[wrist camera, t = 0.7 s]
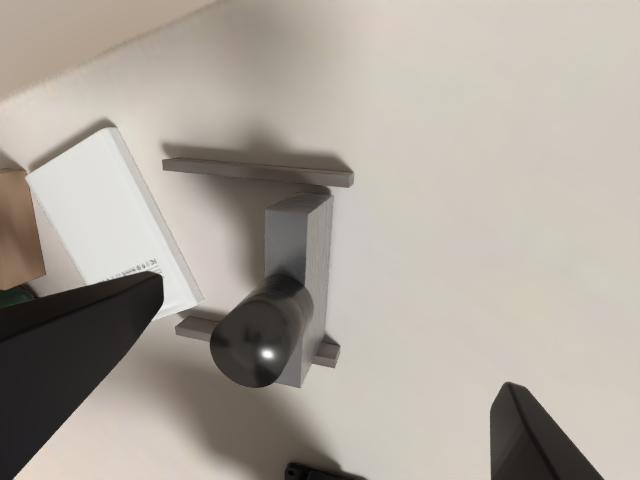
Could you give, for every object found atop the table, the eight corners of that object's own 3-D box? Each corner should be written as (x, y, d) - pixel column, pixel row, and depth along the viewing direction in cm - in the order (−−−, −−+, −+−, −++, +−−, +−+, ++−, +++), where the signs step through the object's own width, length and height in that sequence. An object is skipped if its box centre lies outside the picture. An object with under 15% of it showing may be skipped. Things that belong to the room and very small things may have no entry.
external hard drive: (124, 127, 23) (209, 296, 25) (43, 175, 26) (126, 325, 28) (103, 126, 22) (195, 307, 24) (20, 178, 24) (110, 336, 27)
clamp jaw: (332, 337, 23) (281, 457, 14) (287, 328, 23) (214, 438, 15) (342, 196, 20) (287, 243, 12) (291, 191, 21) (204, 231, 12)
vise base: (339, 353, 23) (328, 384, 20) (30, 291, 29) (-12, 308, 26) (354, 172, 20) (343, 179, 17) (-2, 142, 26) (-53, 144, 23)
